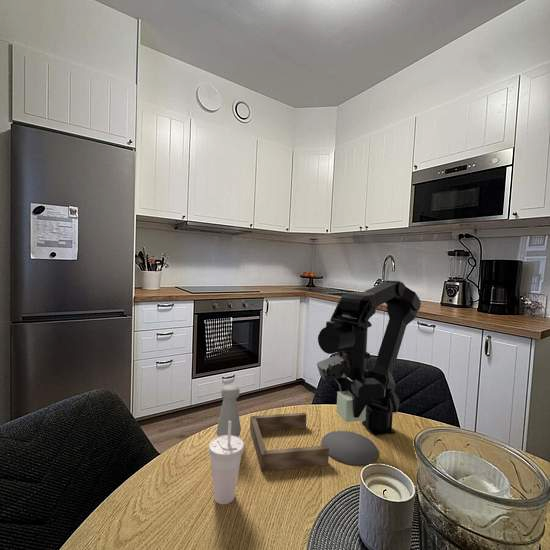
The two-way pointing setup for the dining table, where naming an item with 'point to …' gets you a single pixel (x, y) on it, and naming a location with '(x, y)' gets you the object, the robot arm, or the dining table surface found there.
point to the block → (348, 407)
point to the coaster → (350, 447)
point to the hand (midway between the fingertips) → (350, 411)
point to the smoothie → (225, 465)
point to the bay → (284, 456)
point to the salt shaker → (229, 412)
